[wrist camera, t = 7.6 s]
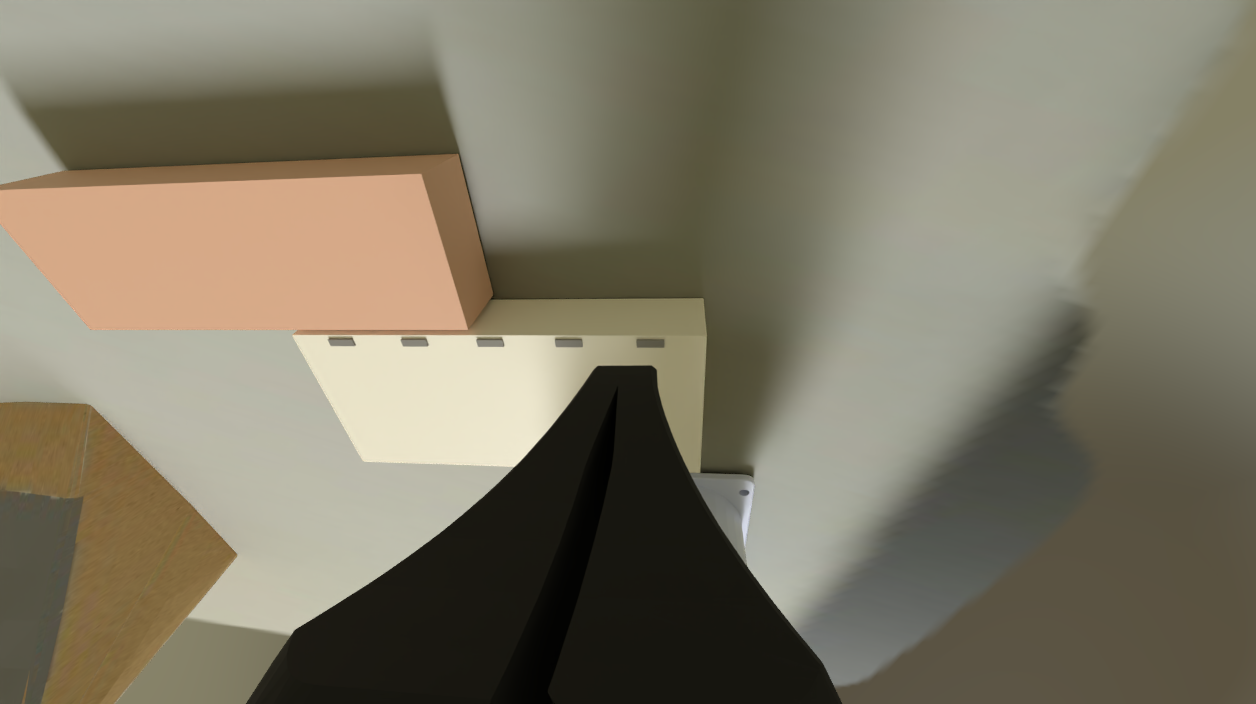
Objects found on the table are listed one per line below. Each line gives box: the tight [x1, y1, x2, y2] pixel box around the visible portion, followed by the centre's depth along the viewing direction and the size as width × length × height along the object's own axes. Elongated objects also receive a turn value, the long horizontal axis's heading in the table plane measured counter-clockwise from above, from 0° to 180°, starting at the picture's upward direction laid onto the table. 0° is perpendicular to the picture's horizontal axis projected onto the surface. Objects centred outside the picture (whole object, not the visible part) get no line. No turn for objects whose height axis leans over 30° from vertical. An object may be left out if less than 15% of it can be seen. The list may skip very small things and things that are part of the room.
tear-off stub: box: [0, 154, 493, 330], centre depth 17 cm, size 6×16×3 cm, turn 93°
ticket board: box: [292, 298, 707, 473], centre depth 20 cm, size 7×16×3 cm, turn 93°
